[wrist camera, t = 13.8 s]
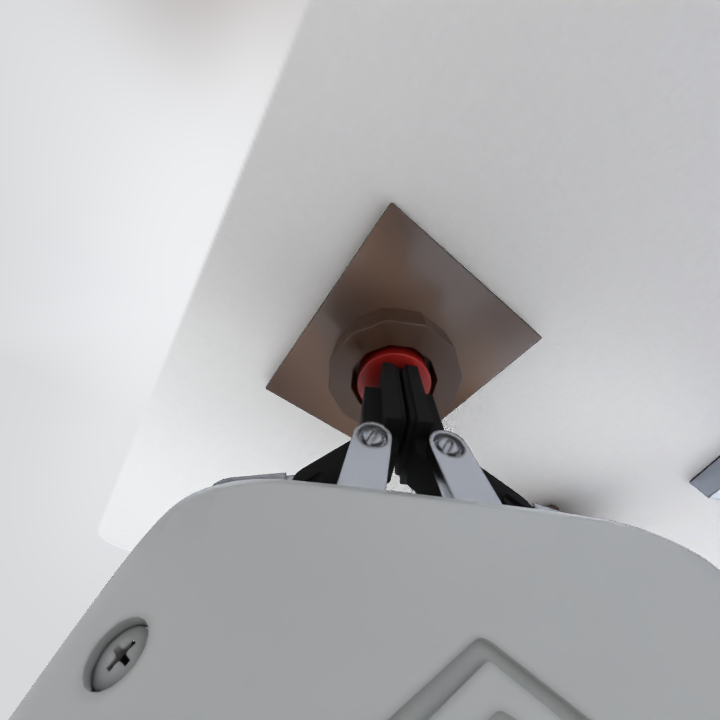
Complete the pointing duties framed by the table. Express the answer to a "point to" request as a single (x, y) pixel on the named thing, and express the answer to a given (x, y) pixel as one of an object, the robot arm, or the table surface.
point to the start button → (390, 354)
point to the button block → (401, 326)
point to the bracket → (709, 481)
